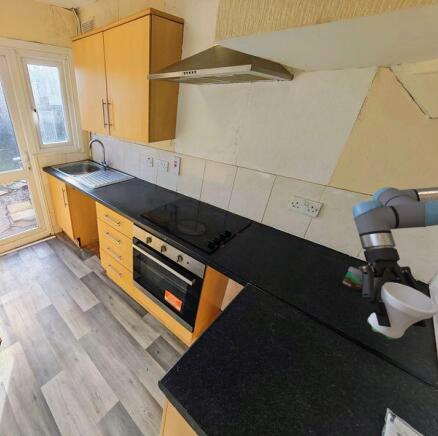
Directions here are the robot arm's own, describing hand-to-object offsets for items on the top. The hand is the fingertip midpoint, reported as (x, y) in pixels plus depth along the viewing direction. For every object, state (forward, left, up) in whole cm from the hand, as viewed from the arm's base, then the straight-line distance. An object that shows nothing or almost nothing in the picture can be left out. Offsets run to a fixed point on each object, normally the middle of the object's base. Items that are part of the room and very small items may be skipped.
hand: (402, 326), depth 65 cm
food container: (0, -38, -15) cm, 41 cm away
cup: (+2, -2, -6) cm, 6 cm away
